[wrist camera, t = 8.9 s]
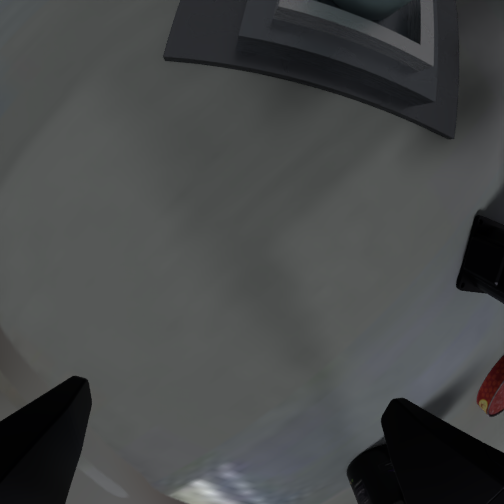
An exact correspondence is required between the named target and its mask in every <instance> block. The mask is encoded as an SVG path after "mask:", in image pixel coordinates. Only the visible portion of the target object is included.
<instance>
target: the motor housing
mask: <svg viewBox="0 0 504 504" xmlns="http://www.w3.org/2000/svg"><path fill="white" fill-rule="evenodd" d="M163 57H164V59H165V61H174V62H185V63H194V64H202V65H210V66H217V67H224V68H230V69H236V70H242V71H247V72H252V73H258V74H262V75H267V76H272V77H276V78H281V79H285V80H289V81H293V82H297V83H301V84H304V85H308V86H312V87H315V88H319V89H322V90H326V91H329V92H332V93H335V94H339V95H342V96H345V97H348V98H351V99H354V100H357V101H360V102H362V103H365V104H368V105H371V106H373V107H376V108H379V109H381V110H384V111H386V112H389V113H391V114H394V115H396V116H399V117H401V118H403V119H406V120H408V121H410V122H413V123H415V124H417V125H419V126H422V127H424V128H426V129H428V130H430V131H432V132H434V133H437V134H439V135H441V136H443V137H445V138H447V139H454V137H455V128H456V117H457V104H458V85H459V40H458V22H457V10H456V1H455V0H412V1H411V2H409V3H407V4H406V5H404V6H403V7H402V8H400V9H399V10H397V11H396V12H394V13H393V14H391V15H390V16H388V17H387V18H385V19H381V20H368V19H365V18H362V17H360V16H357V15H355V14H352V13H349V12H347V11H345V10H343V9H342V8H340V7H339V6H338V5H337V4H335V3H334V2H333V1H332V0H180V3H179V6H178V9H177V12H176V15H175V18H174V21H173V24H172V27H171V31H170V34H169V37H168V41H167V44H166V48H165V51H164V55H163Z"/></svg>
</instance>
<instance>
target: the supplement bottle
mask: <svg viewBox="0 0 504 504" xmlns="http://www.w3.org/2000/svg"><path fill="white" fill-rule="evenodd" d="M347 477H348V479H349V482H350V485H351V487H352V490H353V492H354V495H355V497H356V500H357V503H358V504H406V502H405V499H404V496H403V493H402V490H401V488H400V485H399V482H398V479H397V476H396V473H395V471H394V468H393V465H392V462H391V459H390V455H389V452H388V448H387V445H383V446H379V447H376V448H373V449H371V450H368V451H366V452H365V453H363V454H361V455H360V456H358V457H357V458H356V459H354V460H353V461H352V462H351V464H350V465H349V467H348V469H347Z"/></svg>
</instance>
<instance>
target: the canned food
mask: <svg viewBox="0 0 504 504" xmlns="http://www.w3.org/2000/svg"><path fill="white" fill-rule="evenodd" d="M477 404H478V405H479V406H480V407H481V408H482V409H483V410H484V411H485V412H486V414H487V415H488V416H489V417H494V416H496V415H498V414H500V413H501V412H502V411H504V355H503V356H502V357H501V359H500V360H499V361H498V362H497V363H496V364H495V366H494V367H493V368H492V370H491V371H490V372H489V374H488V375H487V377H486V378H485V380H484V382H483V384H482V385H481V387H480V390H479V392H478V395H477Z"/></svg>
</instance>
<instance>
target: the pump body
mask: <svg viewBox="0 0 504 504" xmlns="http://www.w3.org/2000/svg"><path fill="white" fill-rule="evenodd" d="M332 1H333V2H334V3H335V4H337V5H338V6H339V7H340V8H342V9H343V10H345V11H347V12H349V13H352V14H355V15H357V16H360V17H362V18H365V19H368V20H381V19H385V18H387V17H388V16H390V15H391V14H393V13H394V12H396V11H397V10H399V9H400V8H402V7H403V6H404V5H406V4H407V3H409V2H411V1H412V0H332Z"/></svg>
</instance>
